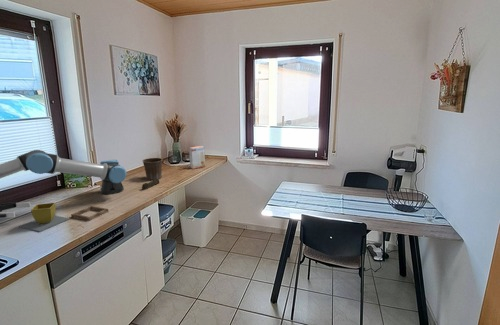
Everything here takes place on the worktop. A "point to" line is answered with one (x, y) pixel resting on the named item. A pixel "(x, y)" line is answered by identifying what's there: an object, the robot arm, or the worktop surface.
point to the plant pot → (153, 168)
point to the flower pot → (44, 212)
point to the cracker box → (197, 157)
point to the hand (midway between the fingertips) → (22, 209)
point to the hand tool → (150, 184)
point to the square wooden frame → (78, 216)
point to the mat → (44, 224)
